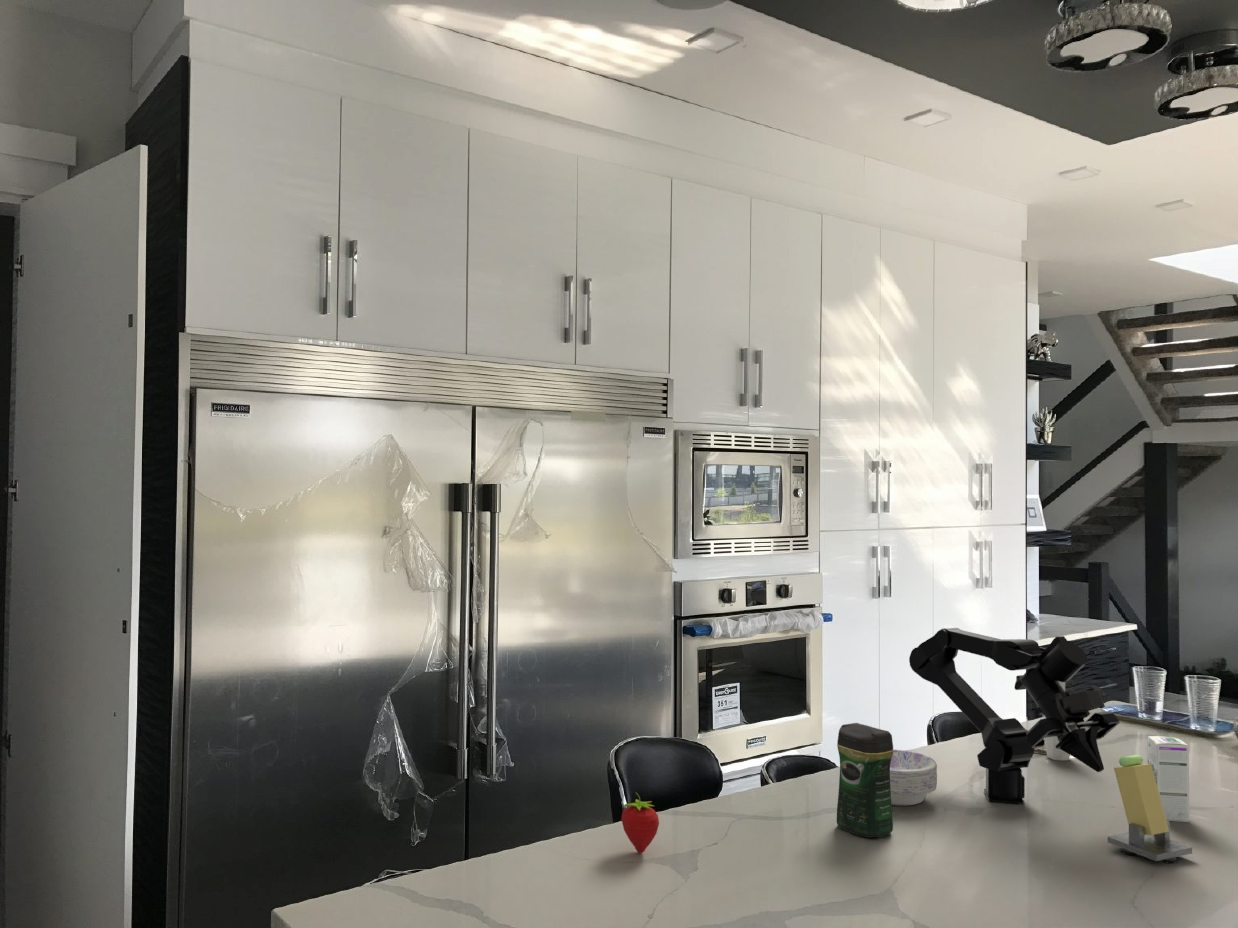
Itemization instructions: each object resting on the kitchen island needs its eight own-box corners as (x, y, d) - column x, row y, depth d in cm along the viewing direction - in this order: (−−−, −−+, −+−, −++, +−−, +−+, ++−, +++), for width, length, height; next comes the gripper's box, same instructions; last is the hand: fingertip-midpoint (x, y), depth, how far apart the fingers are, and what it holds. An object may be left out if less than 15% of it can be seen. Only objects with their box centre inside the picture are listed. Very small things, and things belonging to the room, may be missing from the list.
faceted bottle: (1078, 761, 218) (1078, 665, 218) (1050, 761, 218) (1050, 664, 218) (1065, 754, 224) (1066, 660, 225) (1038, 753, 224) (1039, 659, 225)
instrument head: (1131, 834, 163) (1111, 757, 167) (1148, 831, 165) (1128, 755, 169) (1151, 834, 159) (1131, 756, 163) (1169, 831, 161) (1148, 753, 165)
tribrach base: (1107, 848, 164) (1107, 817, 164) (1142, 840, 168) (1142, 811, 168) (1156, 867, 156) (1156, 835, 156) (1192, 859, 160) (1192, 827, 160)
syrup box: (1190, 822, 178) (1191, 744, 178) (1156, 819, 179) (1156, 742, 180) (1179, 812, 184) (1179, 736, 184) (1146, 809, 185) (1146, 734, 185)
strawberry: (633, 863, 154) (634, 801, 154) (613, 847, 160) (615, 787, 161) (666, 858, 156) (667, 796, 156) (645, 842, 163) (646, 783, 163)
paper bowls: (851, 804, 185) (852, 763, 185) (862, 782, 199) (863, 744, 199) (934, 816, 179) (934, 773, 179) (939, 792, 193) (939, 753, 193)
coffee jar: (900, 834, 169) (901, 728, 170) (870, 842, 165) (871, 734, 165) (858, 818, 177) (860, 717, 178) (828, 825, 173) (830, 722, 173)
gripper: (1039, 674, 172) (1092, 751, 162) (1110, 668, 180) (1165, 741, 170) (1004, 709, 179) (1053, 785, 169) (1074, 701, 187) (1125, 774, 177)
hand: (1101, 770), depth 171 cm, fingers closed
